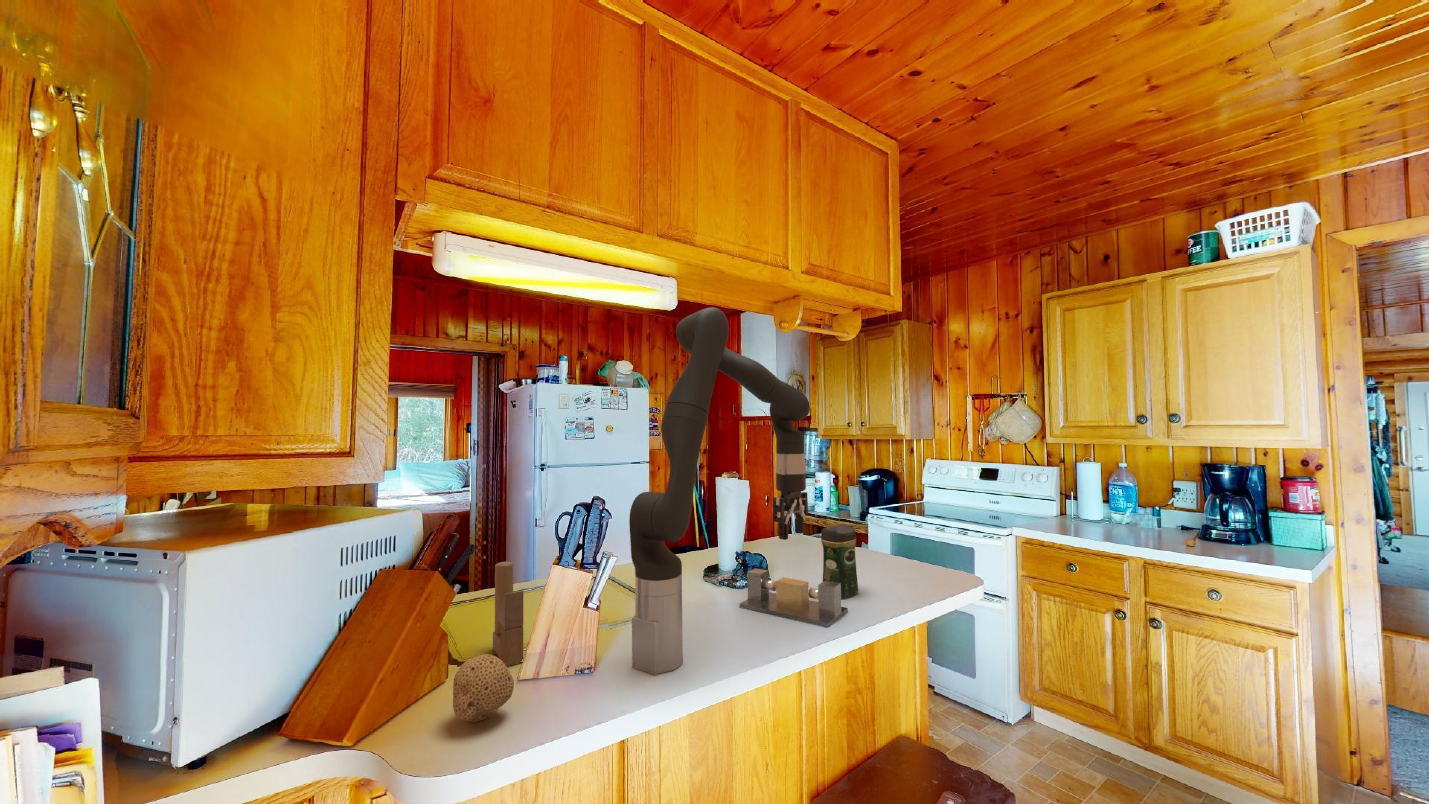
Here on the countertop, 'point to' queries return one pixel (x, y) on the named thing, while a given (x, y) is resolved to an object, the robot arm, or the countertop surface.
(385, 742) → the countertop surface
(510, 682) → the natural sponge
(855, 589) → the coffee jar
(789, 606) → the block
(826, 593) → the stand
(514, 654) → the wooden block
